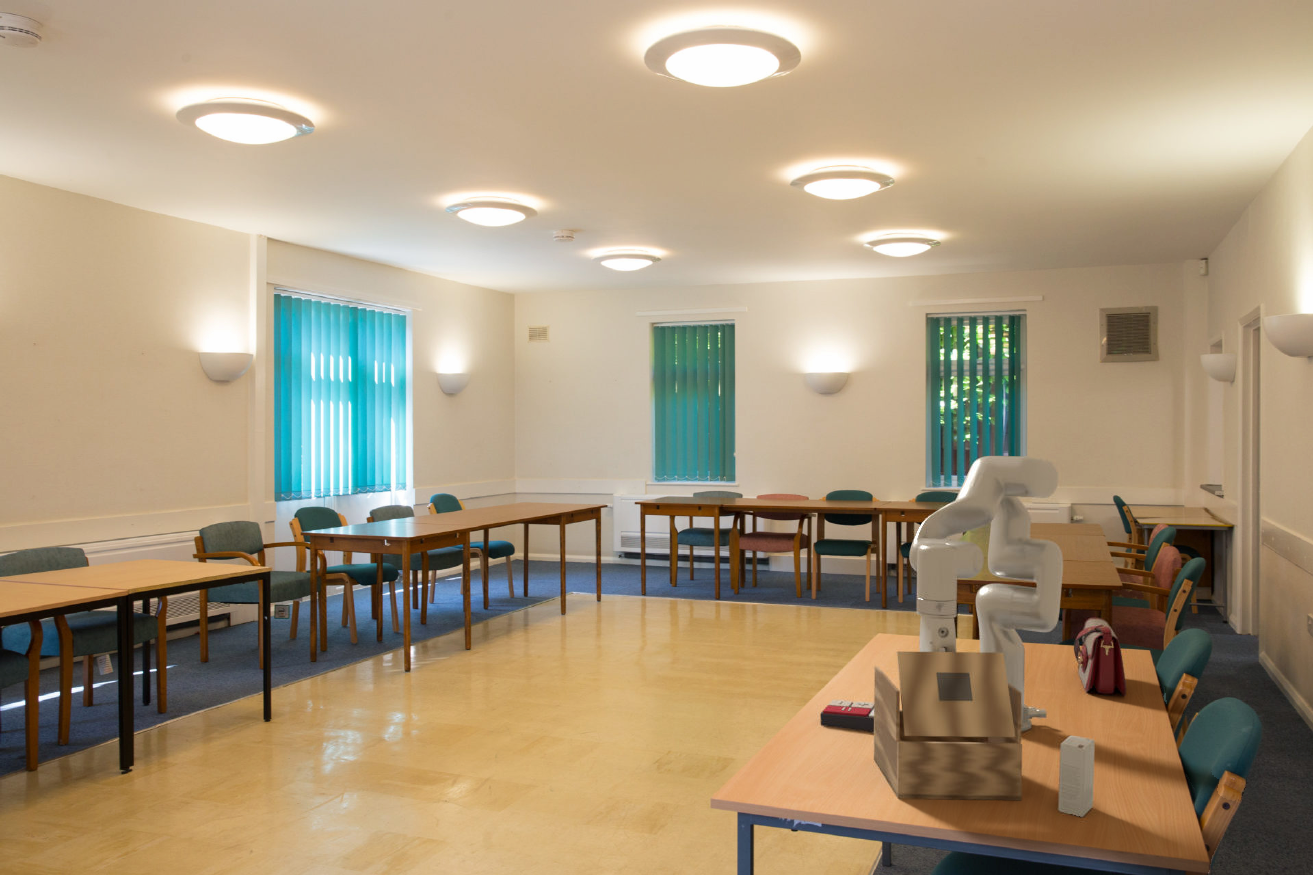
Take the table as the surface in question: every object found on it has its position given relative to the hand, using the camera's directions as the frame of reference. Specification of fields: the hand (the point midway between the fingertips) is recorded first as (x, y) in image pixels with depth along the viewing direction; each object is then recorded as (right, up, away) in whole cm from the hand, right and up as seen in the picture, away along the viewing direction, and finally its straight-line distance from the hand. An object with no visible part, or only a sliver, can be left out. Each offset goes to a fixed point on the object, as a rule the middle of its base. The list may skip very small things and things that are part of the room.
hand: (935, 700), depth 181 cm
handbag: (+62, -14, +63) cm, 89 cm away
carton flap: (0, +5, -12) cm, 12 cm away
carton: (0, -13, -5) cm, 14 cm away
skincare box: (+19, -14, -20) cm, 30 cm away
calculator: (-9, -14, +29) cm, 33 cm away
